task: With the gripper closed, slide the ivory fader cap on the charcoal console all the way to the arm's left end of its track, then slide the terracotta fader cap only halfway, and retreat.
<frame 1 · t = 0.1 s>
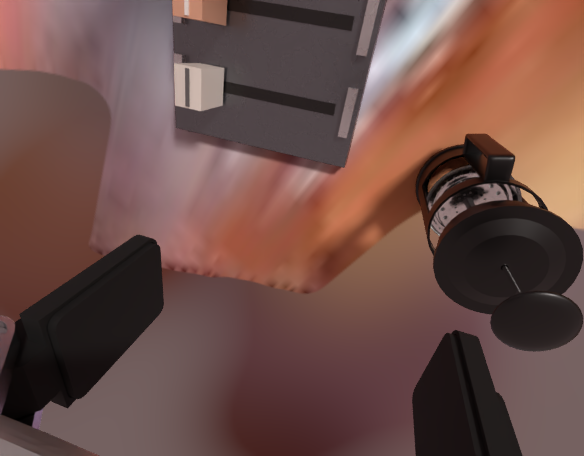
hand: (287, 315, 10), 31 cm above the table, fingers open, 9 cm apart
french press: (459, 180, 37), on the table
console: (271, 55, 36), on the table
fader ivory: (199, 86, 34), point 5 cm above the table, slide at 0.0 cm
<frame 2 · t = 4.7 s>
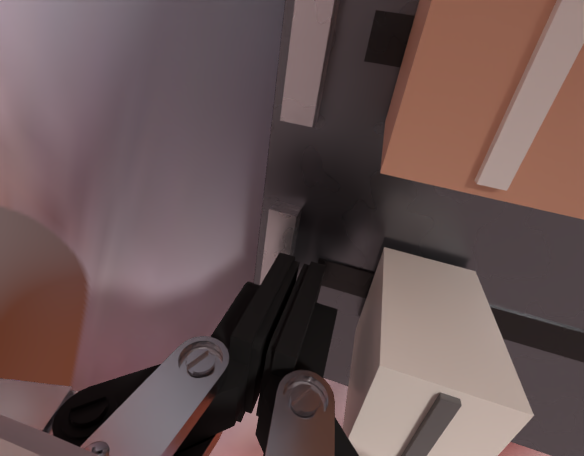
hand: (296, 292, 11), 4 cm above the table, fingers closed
fader terracotta: (498, 47, 6), point 5 cm above the table, slide at 0.0 cm
fader ivory: (413, 359, 10), point 5 cm above the table, slide at 1.1 cm, touching gripper
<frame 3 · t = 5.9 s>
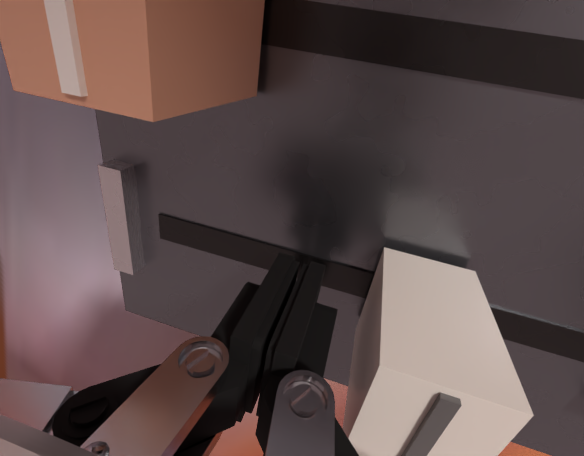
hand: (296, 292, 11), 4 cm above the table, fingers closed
console: (385, 168, 12), on the table
fader ivory: (413, 359, 10), point 5 cm above the table, slide at 8.1 cm, touching gripper
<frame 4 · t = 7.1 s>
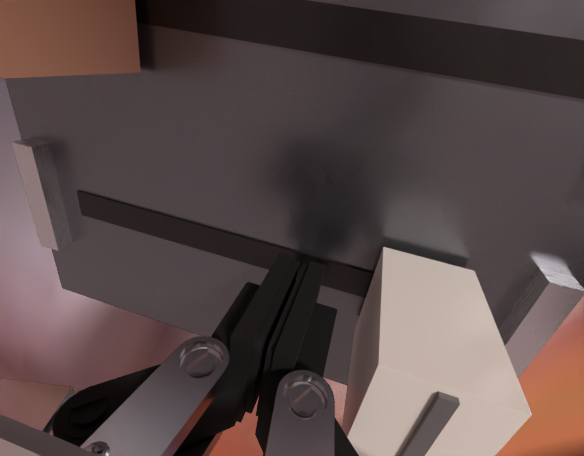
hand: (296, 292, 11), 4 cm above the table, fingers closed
console: (283, 145, 13), on the table
fader ivory: (412, 358, 10), point 5 cm above the table, slide at 12.1 cm, touching gripper
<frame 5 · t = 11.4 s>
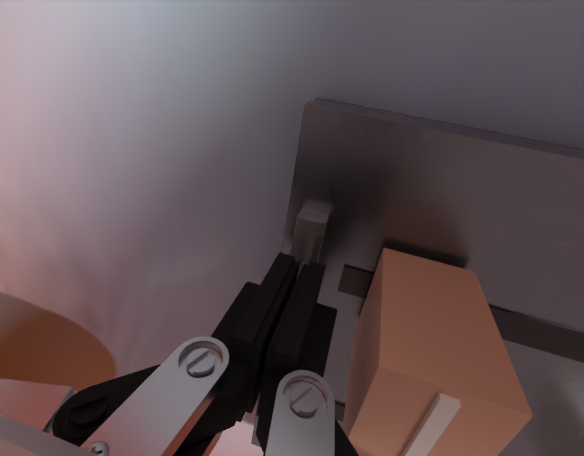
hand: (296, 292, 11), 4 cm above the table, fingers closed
console: (507, 371, 15), on the table
fader terracotta: (413, 359, 10), point 5 cm above the table, slide at 0.1 cm, touching gripper
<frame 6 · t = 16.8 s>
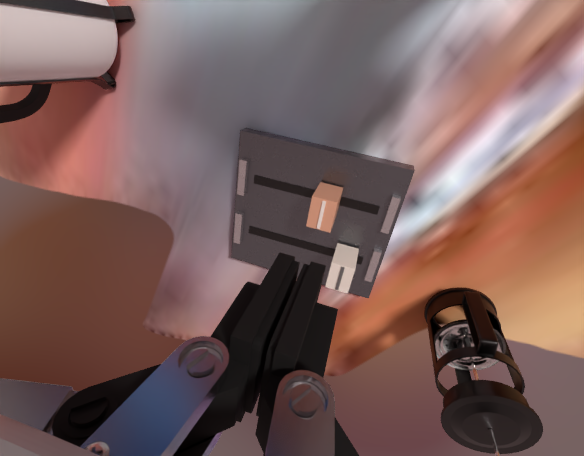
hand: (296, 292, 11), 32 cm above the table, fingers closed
coffee press: (92, 39, 43), on the table
french press: (459, 309, 47), on the table
console: (312, 214, 46), on the table
fader terracotta: (325, 206, 39), point 5 cm above the table, slide at 8.0 cm
fader ivory: (342, 267, 43), point 5 cm above the table, slide at 12.0 cm
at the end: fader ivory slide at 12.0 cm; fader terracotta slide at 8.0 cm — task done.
